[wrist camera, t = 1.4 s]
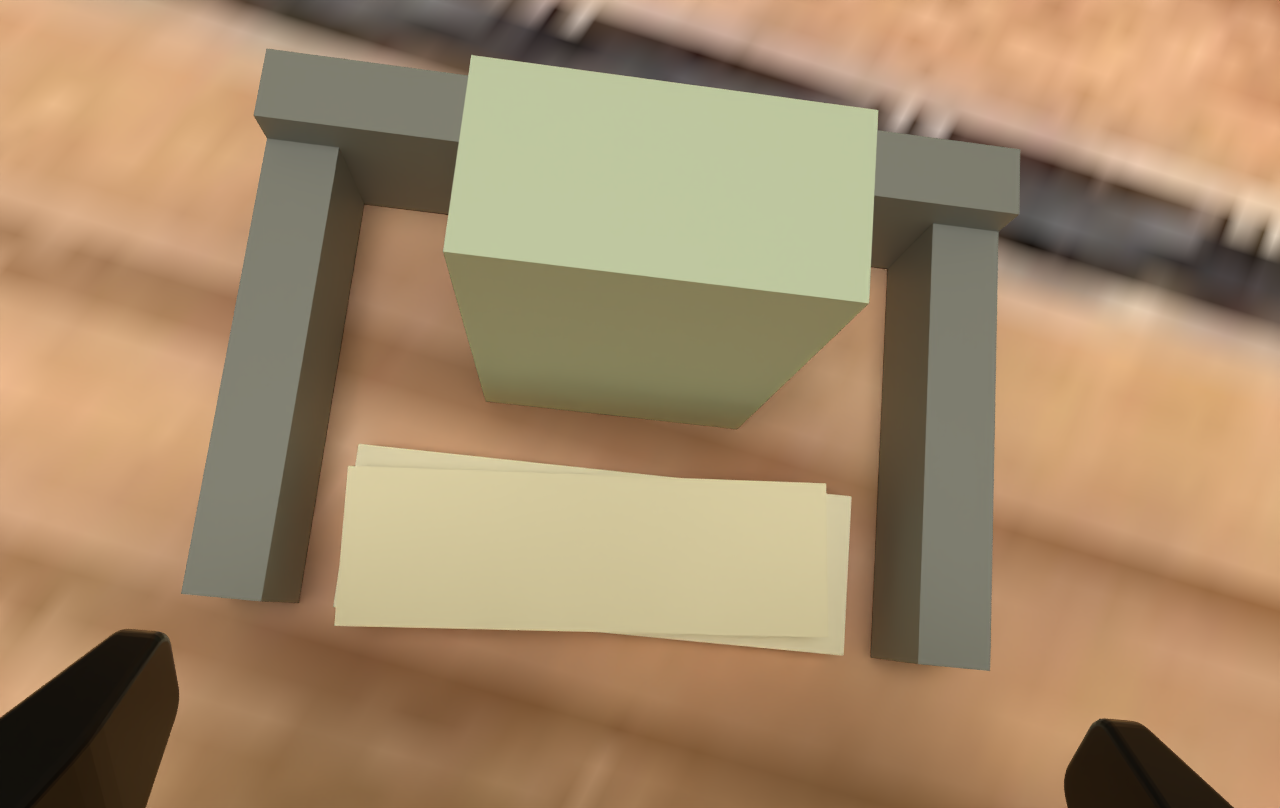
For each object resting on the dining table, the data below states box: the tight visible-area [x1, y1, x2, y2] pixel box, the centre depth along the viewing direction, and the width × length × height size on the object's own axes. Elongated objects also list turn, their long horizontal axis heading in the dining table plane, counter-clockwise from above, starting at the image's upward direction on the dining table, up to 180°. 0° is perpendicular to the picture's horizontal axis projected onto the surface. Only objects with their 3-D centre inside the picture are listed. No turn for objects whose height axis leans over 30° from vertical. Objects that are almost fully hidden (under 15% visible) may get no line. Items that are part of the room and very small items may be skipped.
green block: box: [443, 55, 878, 429], centre depth 19 cm, size 3×6×10 cm, turn 85°
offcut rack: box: [181, 49, 1020, 671], centre depth 22 cm, size 11×16×4 cm
